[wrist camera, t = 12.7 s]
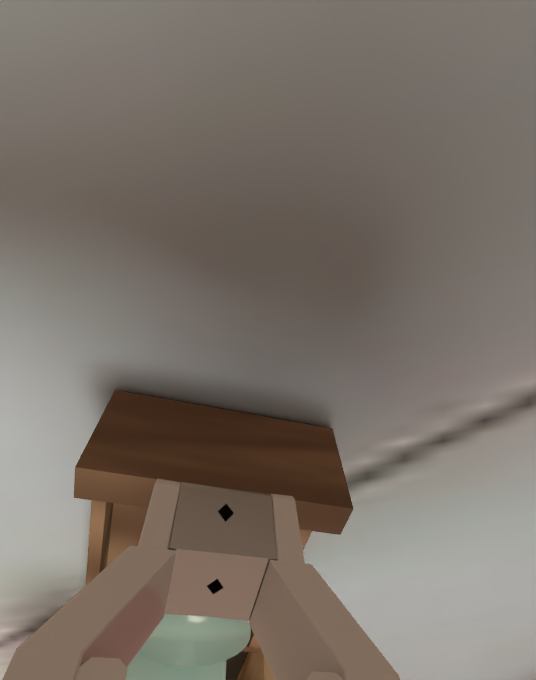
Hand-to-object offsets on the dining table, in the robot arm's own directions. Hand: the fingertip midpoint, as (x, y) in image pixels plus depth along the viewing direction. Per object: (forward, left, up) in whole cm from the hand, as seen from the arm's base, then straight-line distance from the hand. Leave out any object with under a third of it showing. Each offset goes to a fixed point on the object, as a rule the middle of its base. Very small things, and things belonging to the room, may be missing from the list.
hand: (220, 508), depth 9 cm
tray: (+12, +1, -9) cm, 15 cm away
